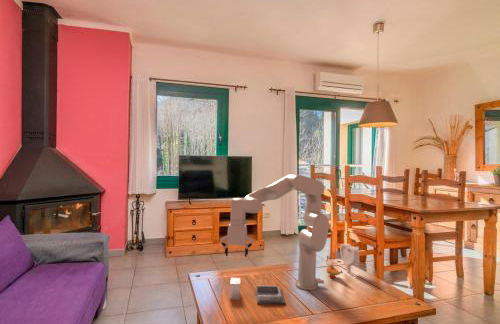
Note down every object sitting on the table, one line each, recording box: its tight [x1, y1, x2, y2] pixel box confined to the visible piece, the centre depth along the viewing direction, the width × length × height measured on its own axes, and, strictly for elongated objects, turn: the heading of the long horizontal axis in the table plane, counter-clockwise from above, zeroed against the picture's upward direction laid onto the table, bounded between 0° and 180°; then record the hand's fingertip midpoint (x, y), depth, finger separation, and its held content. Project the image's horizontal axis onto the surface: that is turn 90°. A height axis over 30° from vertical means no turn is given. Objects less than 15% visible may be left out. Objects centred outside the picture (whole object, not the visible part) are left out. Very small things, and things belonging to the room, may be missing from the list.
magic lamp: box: [325, 255, 344, 279], centre depth 175 cm, size 7×18×11 cm, turn 15°
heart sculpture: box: [339, 243, 360, 277], centre depth 182 cm, size 16×5×18 cm, turn 14°
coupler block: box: [229, 277, 241, 300], centre depth 148 cm, size 5×7×8 cm
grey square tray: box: [255, 284, 287, 306], centre depth 148 cm, size 14×14×4 cm
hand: (236, 255), depth 148 cm, fingers open, 9 cm apart
